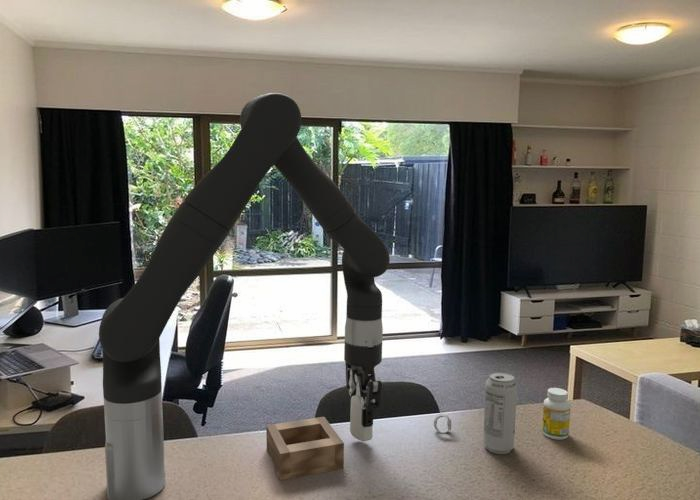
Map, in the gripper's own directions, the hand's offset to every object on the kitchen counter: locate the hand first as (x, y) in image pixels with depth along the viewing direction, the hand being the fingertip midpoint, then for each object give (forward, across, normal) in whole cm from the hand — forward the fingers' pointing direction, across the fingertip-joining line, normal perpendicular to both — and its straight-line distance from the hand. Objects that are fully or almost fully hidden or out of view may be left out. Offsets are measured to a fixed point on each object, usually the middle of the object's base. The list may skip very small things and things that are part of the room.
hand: (361, 419), depth 113 cm
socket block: (+5, +2, -13) cm, 14 cm away
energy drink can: (+5, +11, +25) cm, 28 cm away
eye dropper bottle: (+4, 0, 0) cm, 4 cm away
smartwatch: (+5, +1, +18) cm, 19 cm away
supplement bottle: (+5, +10, +40) cm, 42 cm away
